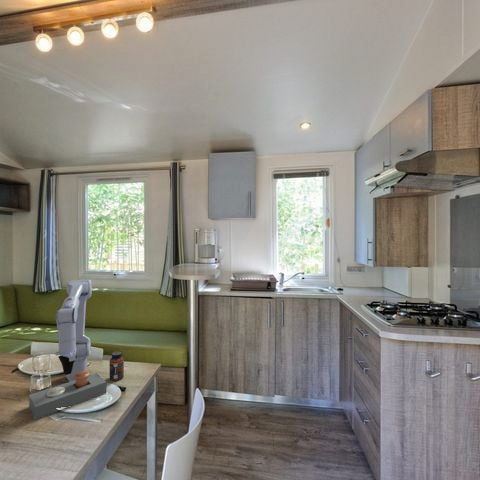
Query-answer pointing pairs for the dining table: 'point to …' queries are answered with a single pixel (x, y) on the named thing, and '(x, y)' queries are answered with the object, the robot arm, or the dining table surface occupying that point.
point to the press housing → (66, 396)
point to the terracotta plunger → (81, 378)
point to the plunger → (55, 392)
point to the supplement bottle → (116, 366)
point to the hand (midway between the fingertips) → (67, 373)
